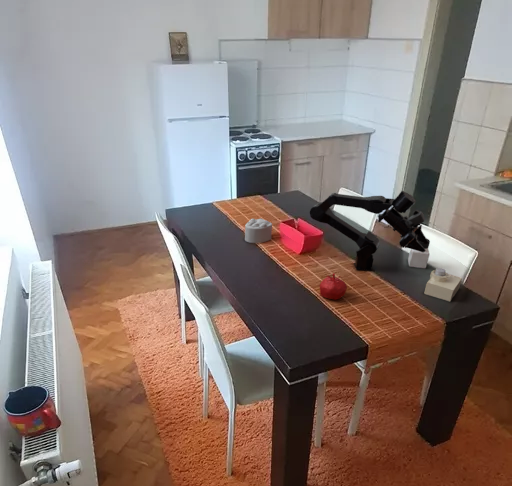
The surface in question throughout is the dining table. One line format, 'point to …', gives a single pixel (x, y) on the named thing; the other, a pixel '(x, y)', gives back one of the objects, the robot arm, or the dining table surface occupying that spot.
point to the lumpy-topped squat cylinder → (258, 231)
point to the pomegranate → (332, 287)
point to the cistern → (442, 286)
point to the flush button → (440, 272)
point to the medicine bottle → (419, 256)
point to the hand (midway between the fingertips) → (426, 247)
